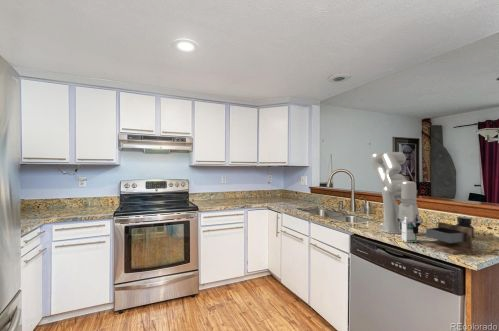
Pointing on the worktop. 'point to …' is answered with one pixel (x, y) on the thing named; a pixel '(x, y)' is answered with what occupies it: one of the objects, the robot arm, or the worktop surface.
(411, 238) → the syrup box
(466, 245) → the bracket board
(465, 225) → the ink bottle
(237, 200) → the worktop surface
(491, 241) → the worktop surface
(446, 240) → the open storage bin
